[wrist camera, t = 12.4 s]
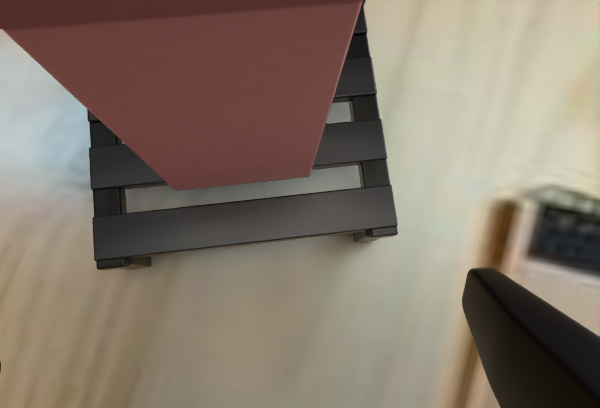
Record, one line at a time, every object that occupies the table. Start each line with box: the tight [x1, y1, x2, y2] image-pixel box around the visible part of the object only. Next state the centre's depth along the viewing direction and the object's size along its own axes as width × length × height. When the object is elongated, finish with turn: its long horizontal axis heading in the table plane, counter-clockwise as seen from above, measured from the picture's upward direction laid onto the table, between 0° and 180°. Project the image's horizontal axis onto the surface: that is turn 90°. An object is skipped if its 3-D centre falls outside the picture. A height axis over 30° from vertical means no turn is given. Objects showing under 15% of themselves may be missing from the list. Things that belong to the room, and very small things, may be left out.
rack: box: [87, 0, 398, 270], centre depth 18 cm, size 10×11×6 cm
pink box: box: [0, 0, 363, 191], centre depth 12 cm, size 5×5×12 cm
